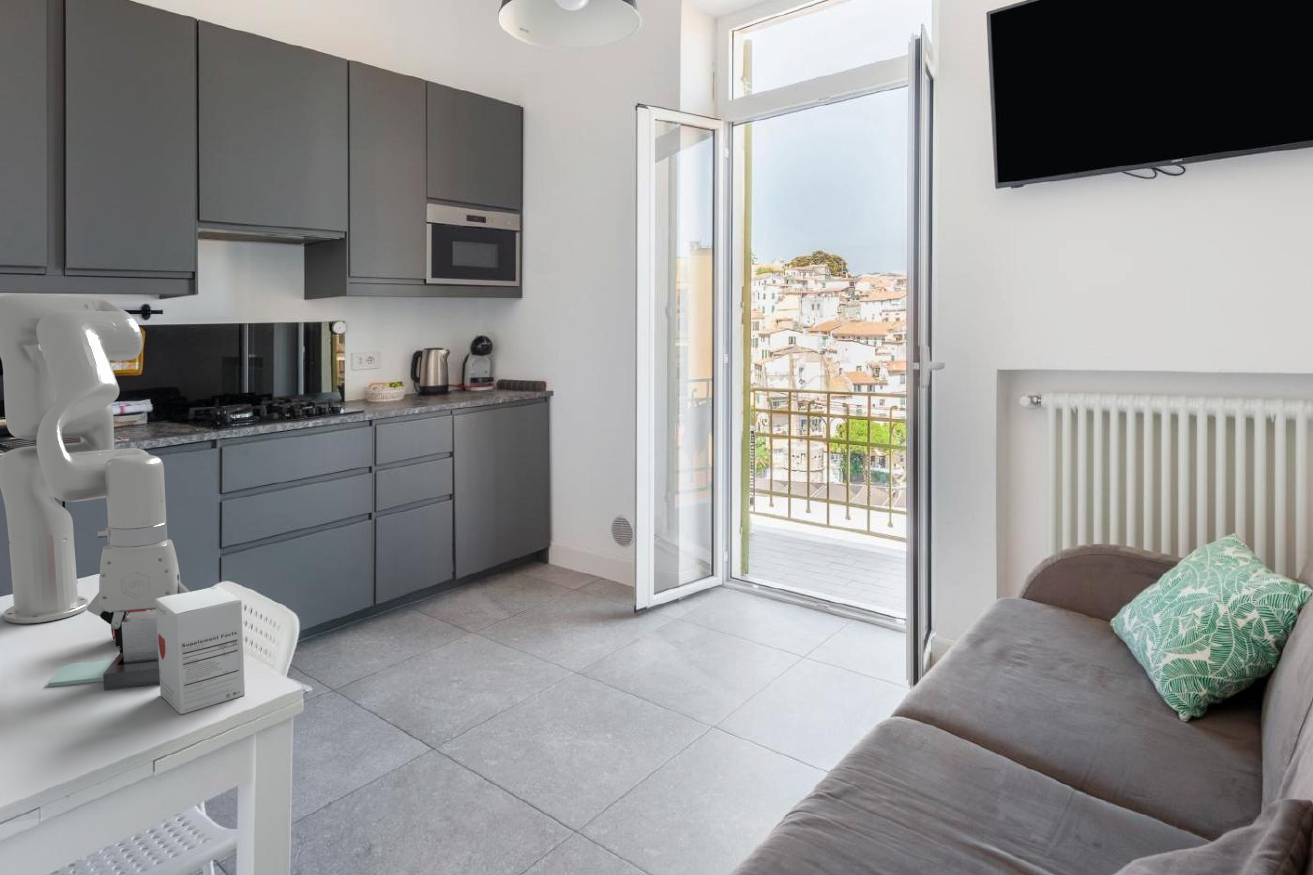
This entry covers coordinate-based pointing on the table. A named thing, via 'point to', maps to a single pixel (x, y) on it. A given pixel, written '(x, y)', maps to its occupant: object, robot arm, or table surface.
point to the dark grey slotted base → (130, 674)
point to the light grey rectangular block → (140, 637)
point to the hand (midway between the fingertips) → (144, 646)
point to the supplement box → (200, 648)
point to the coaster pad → (81, 673)
